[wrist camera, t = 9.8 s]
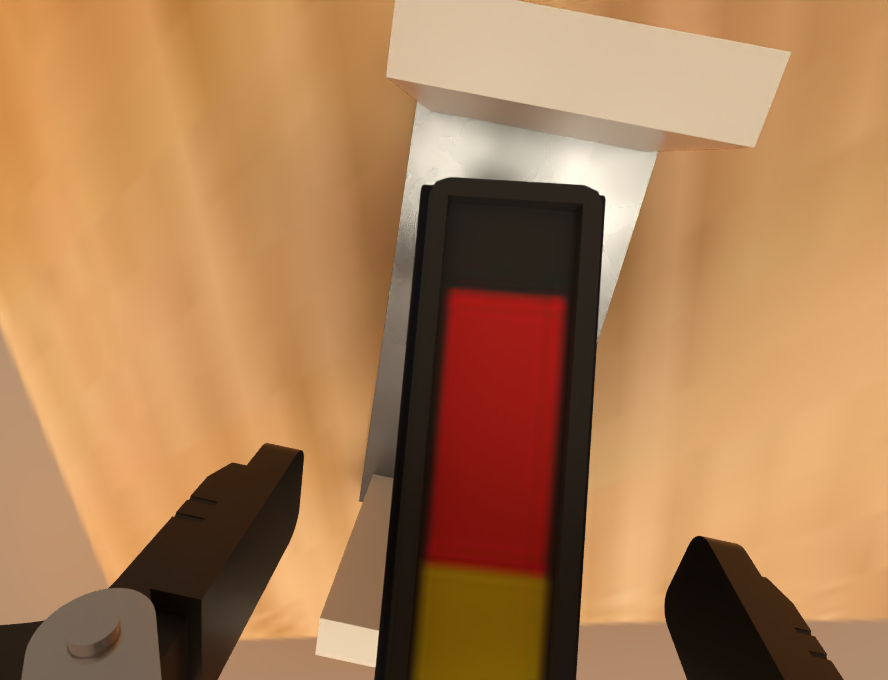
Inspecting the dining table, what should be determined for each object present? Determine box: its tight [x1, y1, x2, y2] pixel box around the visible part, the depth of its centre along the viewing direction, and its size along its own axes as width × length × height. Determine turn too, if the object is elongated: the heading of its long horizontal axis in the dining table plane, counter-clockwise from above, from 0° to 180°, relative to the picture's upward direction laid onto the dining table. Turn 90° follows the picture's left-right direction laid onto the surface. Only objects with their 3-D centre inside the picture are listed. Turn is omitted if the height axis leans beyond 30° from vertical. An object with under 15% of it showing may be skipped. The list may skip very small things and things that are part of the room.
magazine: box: [374, 177, 606, 680], centre depth 16 cm, size 4×13×15 cm, turn 177°
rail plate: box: [359, 101, 658, 502], centre depth 21 cm, size 20×9×1 cm, turn 170°
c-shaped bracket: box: [316, 0, 791, 667], centre depth 17 cm, size 20×8×8 cm, turn 170°
